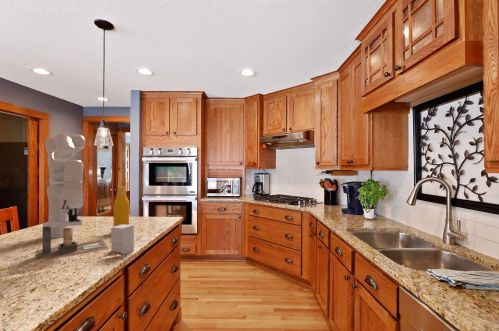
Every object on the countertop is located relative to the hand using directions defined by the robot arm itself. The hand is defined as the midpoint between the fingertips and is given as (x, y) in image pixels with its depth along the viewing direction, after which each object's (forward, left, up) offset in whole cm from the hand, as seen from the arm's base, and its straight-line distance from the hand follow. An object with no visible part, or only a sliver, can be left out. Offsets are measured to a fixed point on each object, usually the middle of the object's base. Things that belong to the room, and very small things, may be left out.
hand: (72, 222), depth 120 cm
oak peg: (-1, -2, -14) cm, 14 cm away
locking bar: (+1, -4, -1) cm, 4 cm away
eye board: (-1, 0, -15) cm, 15 cm away
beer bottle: (-29, +28, -15) cm, 43 cm away
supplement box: (+14, +19, -15) cm, 28 cm away
